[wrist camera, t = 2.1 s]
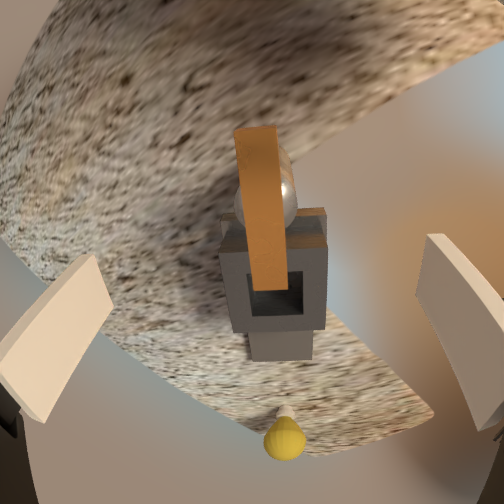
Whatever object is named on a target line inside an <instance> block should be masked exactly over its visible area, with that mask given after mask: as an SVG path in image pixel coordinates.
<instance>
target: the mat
mask: <svg viewBox="0 0 504 504" xmlns="http://www.w3.org/2000/svg"><path fill="white" fill-rule="evenodd" d="M248 336H249V343H250V349H251V355H252V361H253V362H267V361H298V360H312V349H313V330H309V331H289V332H259V333H248Z"/></svg>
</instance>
